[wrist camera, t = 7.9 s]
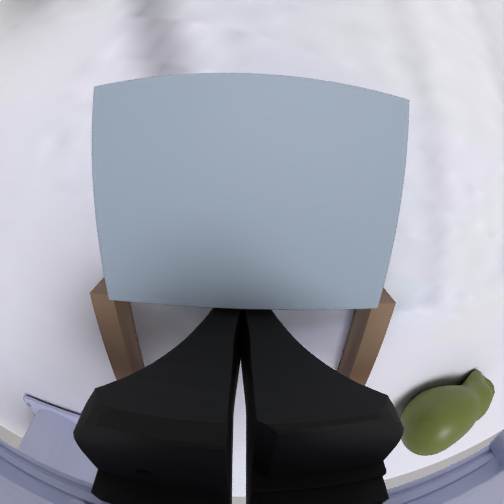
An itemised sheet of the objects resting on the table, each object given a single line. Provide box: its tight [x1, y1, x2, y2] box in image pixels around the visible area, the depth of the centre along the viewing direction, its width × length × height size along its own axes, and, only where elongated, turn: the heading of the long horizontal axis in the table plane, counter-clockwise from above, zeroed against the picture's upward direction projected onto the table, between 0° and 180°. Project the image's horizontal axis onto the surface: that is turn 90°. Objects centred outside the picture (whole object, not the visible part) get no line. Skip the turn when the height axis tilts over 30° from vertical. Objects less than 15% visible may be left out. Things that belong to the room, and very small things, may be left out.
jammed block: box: [92, 73, 409, 310], centre depth 8 cm, size 6×8×4 cm
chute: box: [90, 278, 396, 386], centre depth 13 cm, size 10×13×2 cm
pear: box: [400, 370, 495, 456], centre depth 15 cm, size 6×5×10 cm
